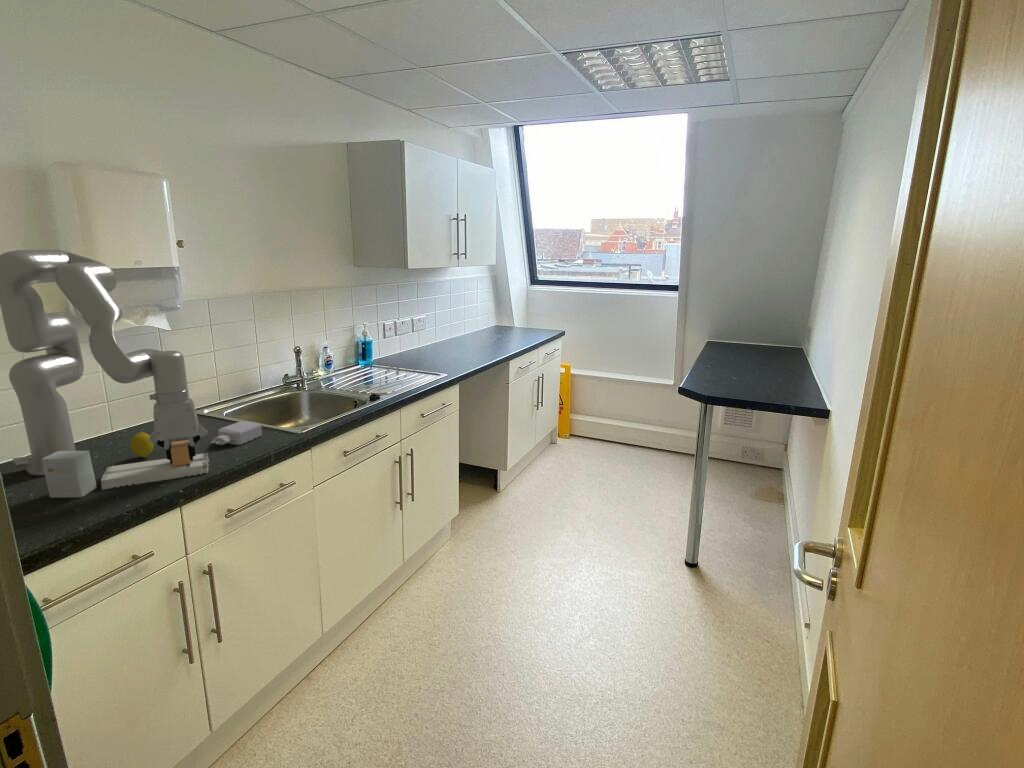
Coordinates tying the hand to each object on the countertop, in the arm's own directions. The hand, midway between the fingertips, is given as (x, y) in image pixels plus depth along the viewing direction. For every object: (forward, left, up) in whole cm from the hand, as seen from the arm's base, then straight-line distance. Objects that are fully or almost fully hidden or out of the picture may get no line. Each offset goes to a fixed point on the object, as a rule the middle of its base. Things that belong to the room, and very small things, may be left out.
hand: (182, 459), depth 154 cm
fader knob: (0, 0, -2) cm, 2 cm away
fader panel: (-6, 0, -3) cm, 7 cm away
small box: (-24, -4, -4) cm, 25 cm away
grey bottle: (+13, +19, -4) cm, 24 cm away
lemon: (-11, +16, -3) cm, 20 cm away
